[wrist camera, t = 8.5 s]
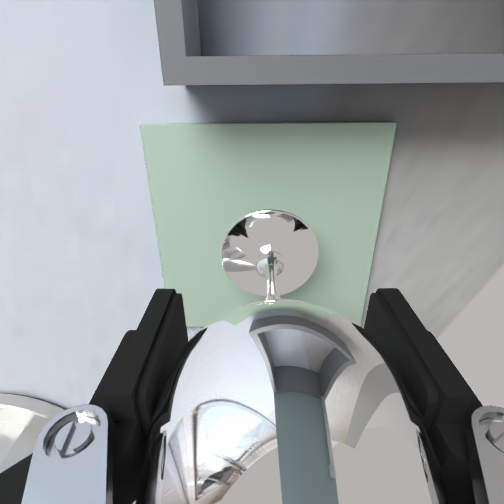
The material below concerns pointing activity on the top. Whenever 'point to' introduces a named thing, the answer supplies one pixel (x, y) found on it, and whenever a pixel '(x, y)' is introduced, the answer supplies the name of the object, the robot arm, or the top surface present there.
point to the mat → (266, 203)
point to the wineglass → (285, 397)
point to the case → (303, 61)
